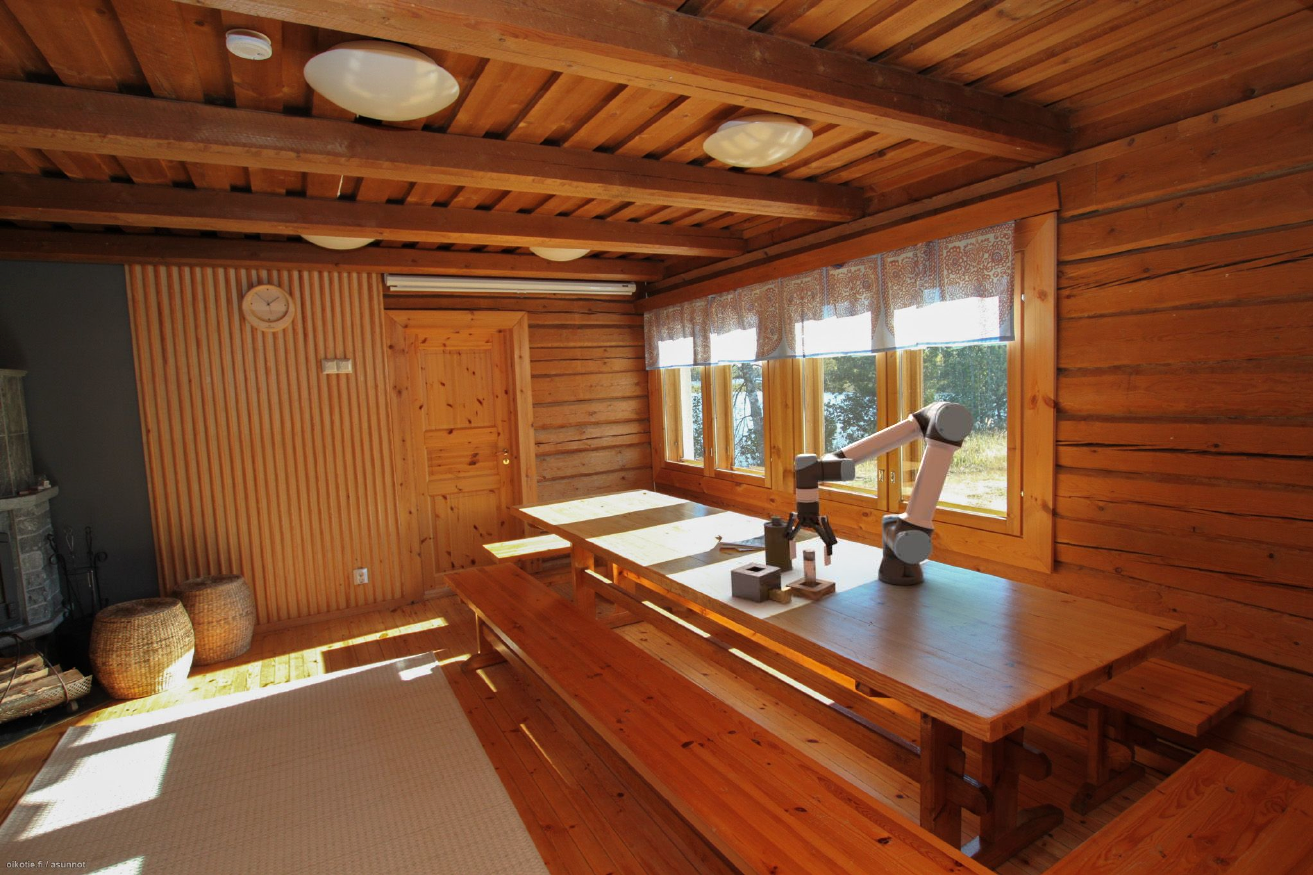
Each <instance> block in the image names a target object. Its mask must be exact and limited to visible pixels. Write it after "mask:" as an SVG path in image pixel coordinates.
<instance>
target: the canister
mask: <svg viewBox="0 0 1313 875" xmlns="http://www.w3.org/2000/svg"><path fill="white" fill-rule="evenodd" d="M769 519H770V520H771V521H766V522H763V530H764V531H763V532H764V534H763V535H764V556H765V565H768V566H773V567H778V568H781V573H785V572H790V571H791V570H793V559H792V560H791V559H790V549H788V540H787V539H786V538H783V537H782V535H783V533H784V530H785V528H786V525H787V523H788V521H785V520H783V517H782V516H775V515H773V516H771V517H769ZM793 527H794V526H793ZM793 527H792V530H793V529H794V528H793ZM792 530H791V532H792ZM791 532H790V533H791Z"/></svg>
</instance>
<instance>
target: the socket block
mask: <svg viewBox="0 0 1313 875" xmlns="http://www.w3.org/2000/svg"><path fill="white" fill-rule="evenodd" d="M730 581H731V582H730V584H731V586H730V587H731V597H733V598H738V599H742V600H744V601H745V600H746V601H749V602H753V603H758V604H761V603H762V604H763V603H764V602H767V601H768V600H769V599H768V589H770V588H773V589H777V590H781V589H782V572H781V568H778V567H773V566H768V565H766V564H761V563H758V562H750V563H748V564H744V565H742V566H739V567H737V568H734V569H732V570H730Z"/></svg>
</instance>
